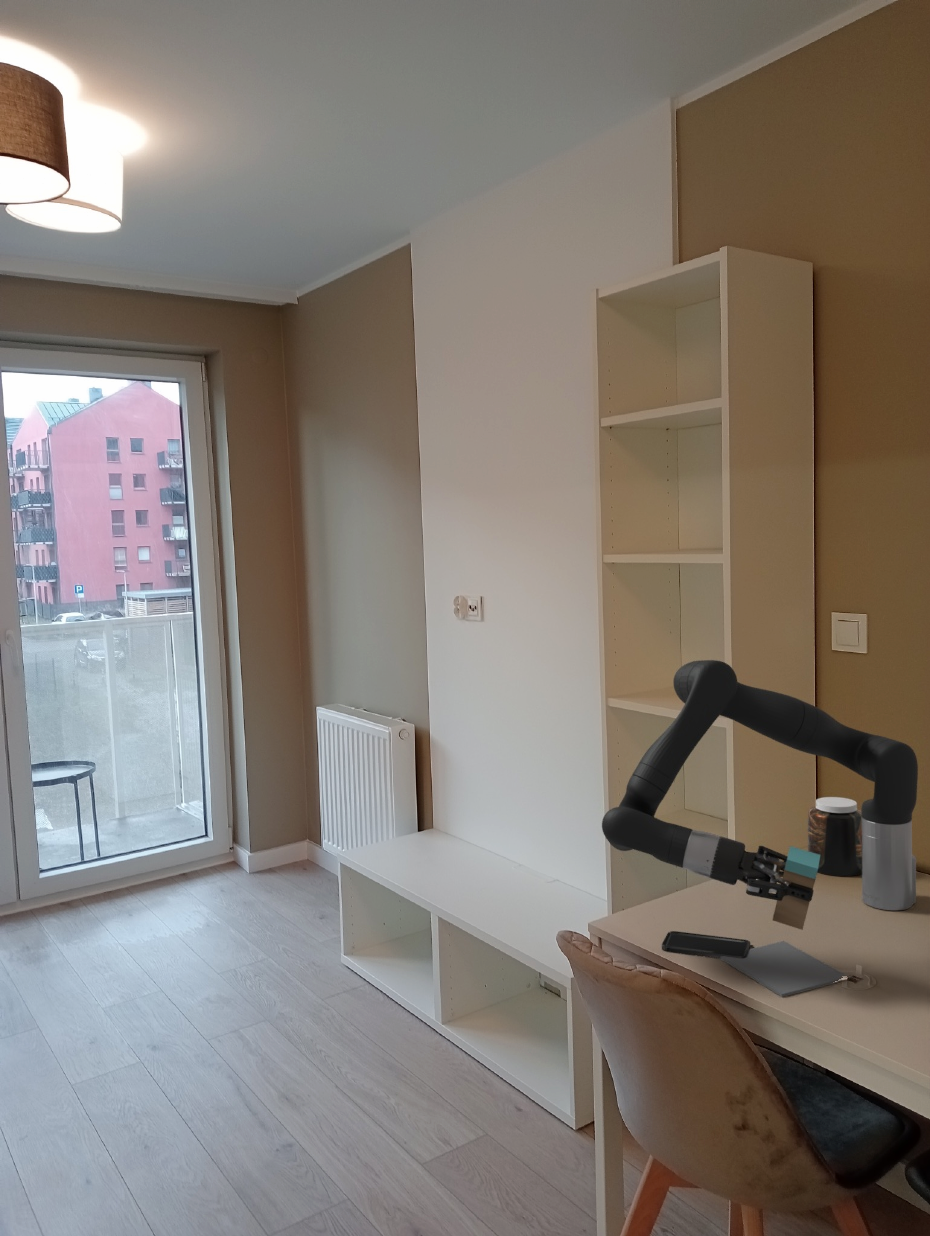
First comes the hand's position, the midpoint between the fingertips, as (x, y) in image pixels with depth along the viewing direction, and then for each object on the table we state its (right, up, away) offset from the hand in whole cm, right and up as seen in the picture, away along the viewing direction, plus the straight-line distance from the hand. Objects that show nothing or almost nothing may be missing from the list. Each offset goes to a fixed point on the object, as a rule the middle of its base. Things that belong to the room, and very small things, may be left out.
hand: (813, 887), depth 162 cm
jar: (+24, -10, +50) cm, 56 cm away
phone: (-15, -15, +12) cm, 25 cm away
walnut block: (-3, -6, +3) cm, 7 cm away
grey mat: (-4, -15, +2) cm, 16 cm away
